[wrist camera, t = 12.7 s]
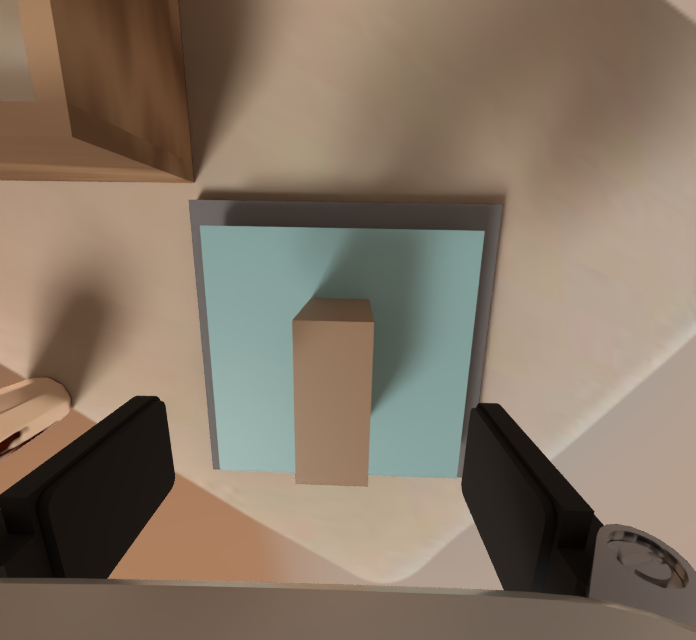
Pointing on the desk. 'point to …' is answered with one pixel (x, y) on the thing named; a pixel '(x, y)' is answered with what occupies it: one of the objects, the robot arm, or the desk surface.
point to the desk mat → (362, 218)
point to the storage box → (93, 92)
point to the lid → (340, 349)
